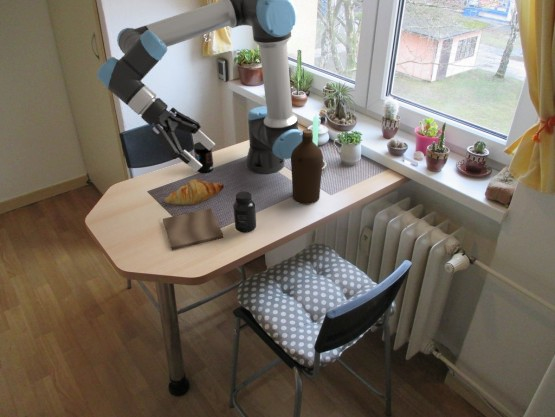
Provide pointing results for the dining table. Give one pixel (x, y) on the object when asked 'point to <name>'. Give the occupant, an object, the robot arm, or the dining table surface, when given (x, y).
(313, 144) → the olive oil
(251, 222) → the supplement bottle
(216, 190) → the croissant
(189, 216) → the brown cloth napkin
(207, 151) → the supplement container
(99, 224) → the dining table surface
